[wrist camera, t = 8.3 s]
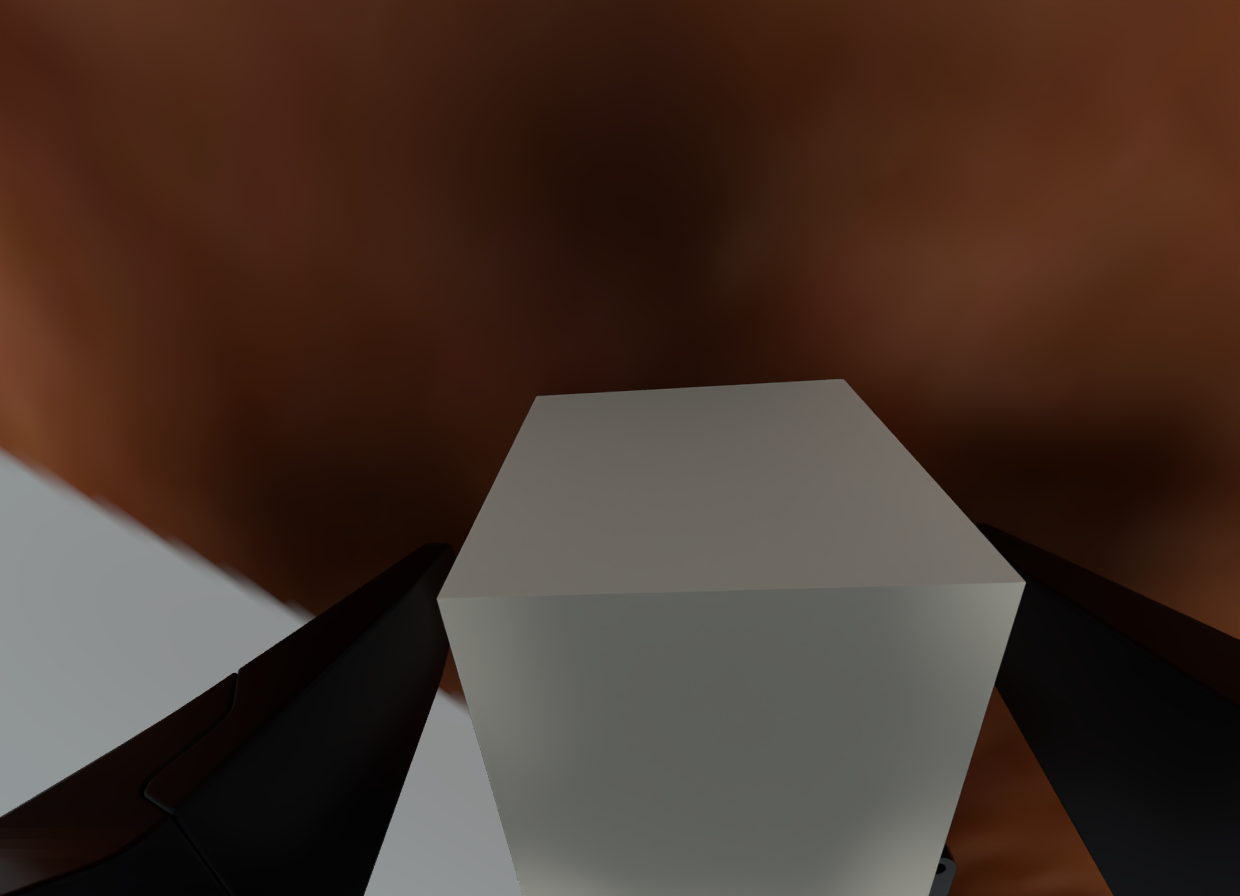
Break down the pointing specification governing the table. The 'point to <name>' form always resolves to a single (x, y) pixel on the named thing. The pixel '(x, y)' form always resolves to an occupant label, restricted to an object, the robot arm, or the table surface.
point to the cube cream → (724, 645)
